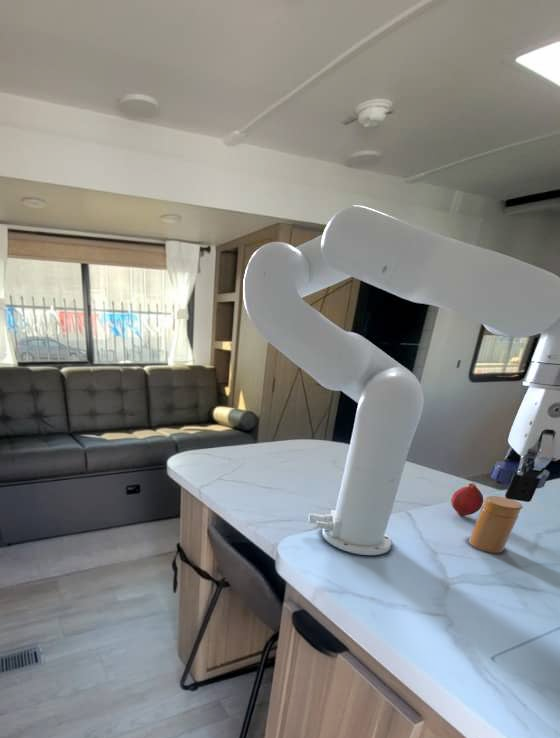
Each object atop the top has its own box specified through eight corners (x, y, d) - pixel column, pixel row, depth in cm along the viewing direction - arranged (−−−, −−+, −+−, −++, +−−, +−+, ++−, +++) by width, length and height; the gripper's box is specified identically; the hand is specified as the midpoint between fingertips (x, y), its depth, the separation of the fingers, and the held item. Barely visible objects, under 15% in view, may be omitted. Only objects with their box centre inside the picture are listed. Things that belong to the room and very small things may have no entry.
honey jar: (476, 551, 77) (494, 506, 73) (463, 537, 82) (480, 494, 78) (508, 554, 76) (529, 509, 72) (494, 540, 81) (512, 497, 77)
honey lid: (510, 472, 69) (515, 459, 68) (554, 486, 63) (560, 473, 62) (480, 475, 67) (485, 462, 66) (523, 490, 61) (529, 476, 60)
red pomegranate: (453, 508, 95) (465, 476, 92) (481, 517, 91) (494, 484, 87) (441, 513, 92) (453, 481, 89) (469, 524, 88) (482, 490, 84)
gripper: (620, 387, 50) (557, 517, 57) (571, 373, 64) (526, 478, 71) (543, 381, 53) (493, 506, 60) (513, 369, 67) (476, 471, 74)
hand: (511, 490), depth 66 cm, fingers closed on honey lid, 6 cm apart
